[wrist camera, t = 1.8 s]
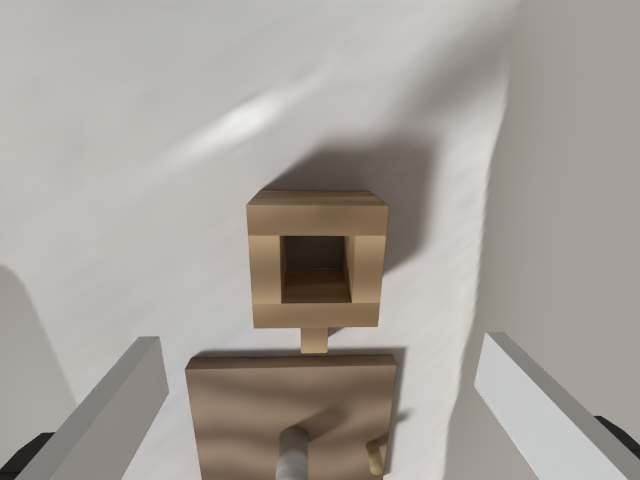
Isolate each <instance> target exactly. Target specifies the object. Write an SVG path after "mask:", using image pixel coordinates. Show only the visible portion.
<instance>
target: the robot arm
mask: <svg viewBox="0 0 640 480" xmlns="http://www.w3.org/2000/svg"><path fill="white" fill-rule="evenodd" d="M474 386H475V388H476V389H477V391H478V392H479V393H480V395H481V396H482V398H483V399H484V401H485V402H486V403H487V405H488V406H489V408H490V409H491V411H492V412H493V414H494V415H495V416H496V418H497V419H498V421H499V422H500V424H501V425H502V426H503V428H504V429H505V431H506V432H507V434H508V435H509V436H510V438H511V439H512V441H513V442H514V443H515V445H516V446H517V448H518V449H519V451H520V452H521V454H522V455H523V456H524V458H525V459H526V461H527V462H528V464H529V465H530V466H531V468H532V469H533V471H534V472H535V474H536V475H537V476H538V478H539V479H540V480H640V445H639V444H638V443H637V442H636V441H635V440H634V439H632V438H631V437H630V436H629V435H628V434H627V433H626V432H625V431H623V430H622V429H620V428H619V427H617V426H616V425H614V424H612V423H611V422H609V421H608V420H606V419H605V418H603V417H602V416H593V415H591V414H590V413H589V412H588V411H587V410H586V409H585V408H584V407H583V406H582V405H581V404H580V403H579V402H577V400H575V398H573V397H572V396H571V395H570V394H569V393H568V392H567V391H566V390H565V389H564V388H563V387H562V386H561V385H560V384H559V383H558V382H557V381H555V380H554V379H553V378H552V377H551V376H550V375H549V374H548V373H547V372H546V371H544V369H543V368H542V367H541V366H539V365H538V364H537V363H536V362H535V361H534V360H533V359H532V358H531V357H530V356H529V355H528V354H527V353H526V352H525V351H523V350H522V349H521V348H520V347H519V346H518V345H517V344H516V343H515V342H514V341H513V340H512V339H511V338H510V337H509V336H508V335H507V334H506V333H504V332H486V333H485V338H484V342H483V347H482V351H481V356H480V361H479V365H478V370H477V374H476V379H475V383H474ZM168 393H169V389H168V384H167V378H166V372H165V367H164V361H163V355H162V350H161V344H160V338H159V336H155V337H138V338H137V340H136V341H135V342H134V343H133V344H132V345H131V346H130V348H129V349H128V350H127V351H126V352H125V353H124V355H123V356H122V357H121V358H120V359H119V360H118V361H117V363H116V364H115V365H114V366H113V367H112V368H111V369H110V371H109V372H108V373H107V374H106V375H105V376H104V377H103V379H102V380H101V381H100V382H99V383H98V384H97V385H96V387H95V388H94V389H93V390H92V391H91V392H90V393H89V395H88V396H87V397H86V398H85V399H84V400H83V402H82V403H81V404H80V405H79V406H78V407H77V408H76V410H75V411H74V412H73V413H72V414H71V415H70V416H69V418H68V419H67V420H66V421H65V422H64V423H63V425H62V426H61V427H60V428H59V429H58V430H57V431H56V432H52V433H41V434H40V435H39V436H37V437H36V438H35V439H33V440H32V441H30V443H28V444H26V445H25V446H24V447H22V448H21V449H20V450H18V451H17V452H16V453H15V454H14V456H13V457H12V458H11V459H10V460H9V461H8V462H7V463H6V464H5V465H4V466H3V467H2V468H1V469H0V480H121V478H122V477H123V475H124V473H125V471H126V469H127V468H128V466H129V464H130V462H131V460H132V459H133V457H134V455H135V453H136V451H137V449H138V448H139V446H140V444H141V442H142V440H143V439H144V437H145V435H146V433H147V431H148V430H149V428H150V426H151V424H152V422H153V421H154V419H155V417H156V415H157V413H158V412H159V410H160V408H161V406H162V404H163V403H164V401H165V399H166V397H167V395H168Z"/></svg>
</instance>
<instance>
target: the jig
mask: <svg viewBox="0 0 640 480" xmlns="http://www.w3.org/2000/svg"><path fill="white" fill-rule="evenodd" d="M396 367H397V365H396V362H395V360H394V358H393V355H349V356H294V357H238V358H191V359H190V361H189V363H188V364H187V366H186V368H185V374H186V380H187V387H188V393H189V400H190V406H191V412H192V419H193V425H194V432H195V438H196V445H197V451H198V457H199V464H200V470H201V477H202V480H383V474H384V466H385V458H386V450H387V441H388V433H389V425H390V417H391V408H392V400H393V392H394V383H395V375H396Z"/></svg>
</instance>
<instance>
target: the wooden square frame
mask: <svg viewBox="0 0 640 480" xmlns="http://www.w3.org/2000/svg"><path fill="white" fill-rule="evenodd" d="M246 209H247V225H248V241H249V257H250V273H251V290H252V306H253V322H254V328H301V353H327V344H328V327H378V319H379V308H380V297H381V286H382V275H383V264H384V253H385V242H386V231H387V220H388V210H389V206H388V205H387V204H386V203H384V202H383V201H382V200H380V199H379V198H378V197H376V196H375V195H374V194H372V193H371V192H370V191H300V190H260V191H259V192H258V193H257V194H256V195H255V196H254V197H253V198H252V199H251V200H250V201H249V202H248V204H247V205H246ZM286 236H344V237H343V260H342V269H286Z"/></svg>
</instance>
